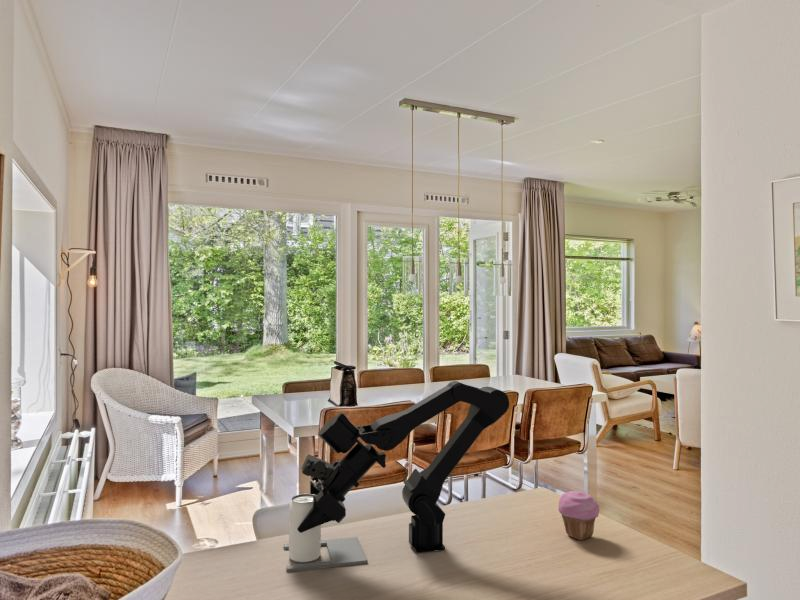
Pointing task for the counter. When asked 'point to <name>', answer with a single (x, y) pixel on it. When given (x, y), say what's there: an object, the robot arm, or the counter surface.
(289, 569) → the board
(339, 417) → the robot arm
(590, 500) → the cupcake
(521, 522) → the counter surface
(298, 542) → the can
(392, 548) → the counter surface
